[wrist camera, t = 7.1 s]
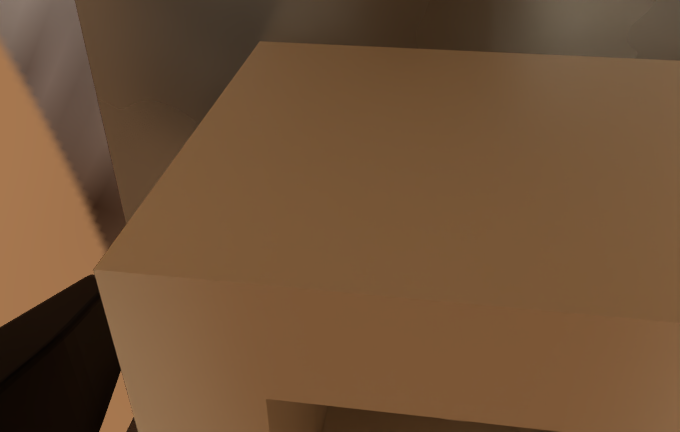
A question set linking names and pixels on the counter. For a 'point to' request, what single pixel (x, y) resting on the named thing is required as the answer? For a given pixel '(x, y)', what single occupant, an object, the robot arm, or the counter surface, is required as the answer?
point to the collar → (410, 249)
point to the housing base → (314, 28)
